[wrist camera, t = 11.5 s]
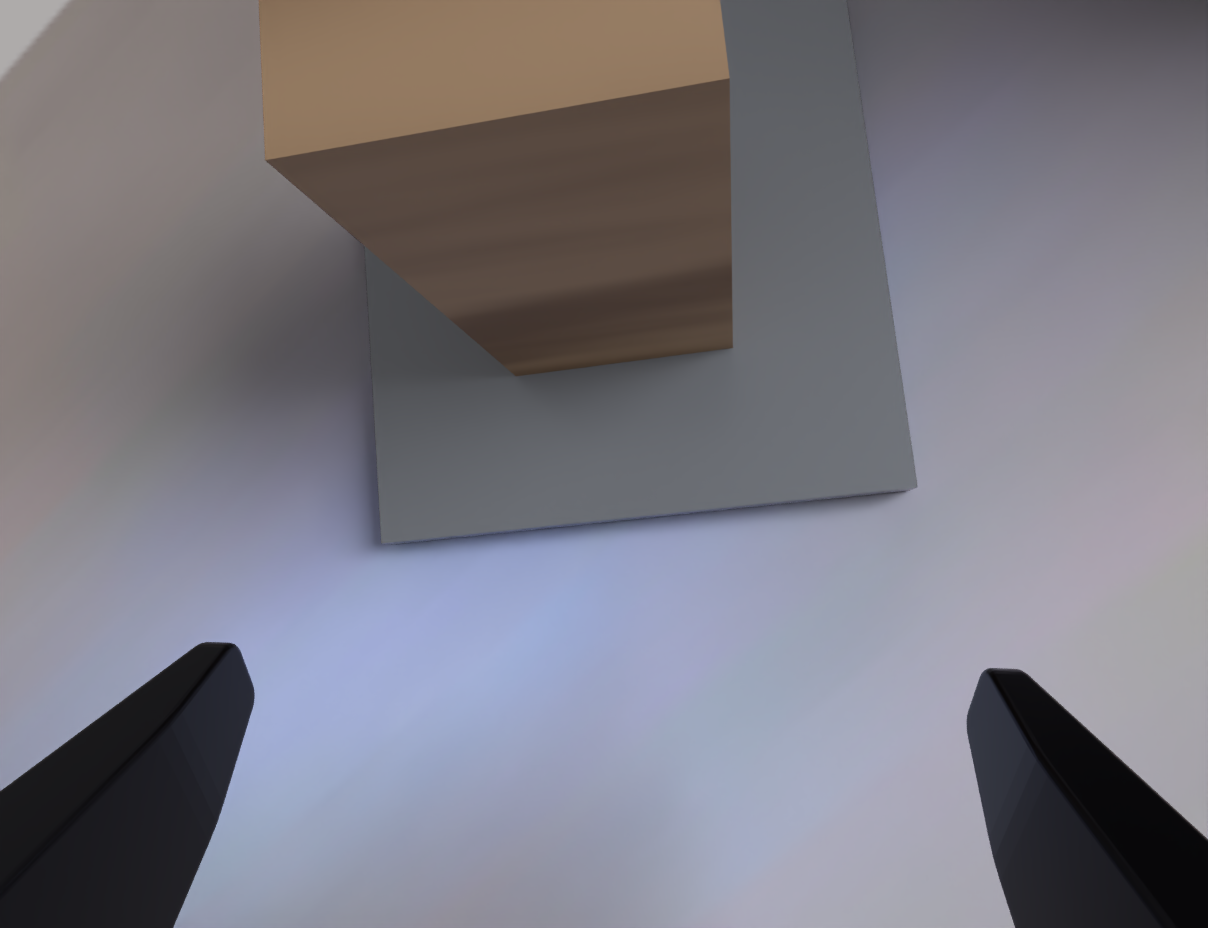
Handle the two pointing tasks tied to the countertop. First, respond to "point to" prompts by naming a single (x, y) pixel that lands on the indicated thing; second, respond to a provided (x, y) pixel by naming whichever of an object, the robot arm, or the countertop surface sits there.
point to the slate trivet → (690, 381)
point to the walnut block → (521, 163)
